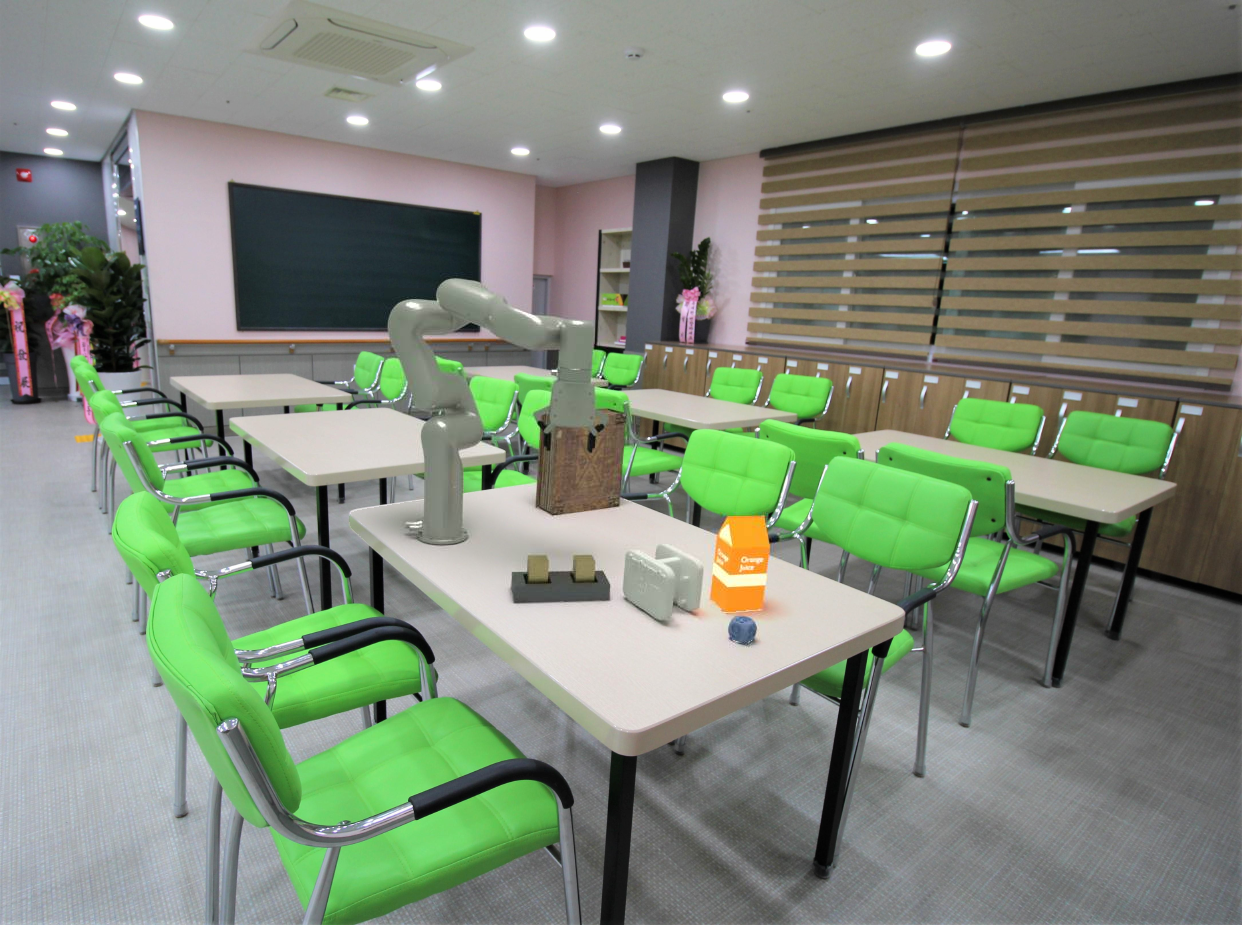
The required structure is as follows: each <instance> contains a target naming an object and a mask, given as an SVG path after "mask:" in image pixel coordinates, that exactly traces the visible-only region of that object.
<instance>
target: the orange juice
mask: <svg viewBox="0 0 1242 925" xmlns="http://www.w3.org/2000/svg"><path fill="white" fill-rule="evenodd" d="M766 524H767V523H766V519H765V515H743V516H742V515H741V516H735V515H734V516H731V515H729V516H727V517H726V518H725V520H724V522H723V524H722V526H721V527H720V530H719V532H718V533H717V535H716V541H715V542H716V543H715V551H714V559H713V567H712V576H711V577H712V578H711V586H710V595H709V596H710V597H709V599H710V598H711V599H710V600H711V601H712V600H713V601H714V602H715V603H716V604H717V605H718V606H719V607H720V608H721V609H722V610H723V611H724V612H736V611H746V610H758V609H762V610H763V606H764V605H763V603H764V597H765V596H764V595H765V590H766V586H767V584H766V583H767V577H768V565H769V560H770V558H769V557H770V553H771V552H770V549H771V546H770V541H769V535H768V531H767V525H766ZM713 601H712V602H713ZM714 602H713V603H714ZM715 603H714V604H715ZM716 604H715V605H716Z"/></svg>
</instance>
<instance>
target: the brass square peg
mask: <svg viewBox="0 0 1242 925" xmlns="http://www.w3.org/2000/svg"><path fill="white" fill-rule="evenodd" d="M572 558H573V559H572V570H571V571H572V581H573V583H594V575H595V571H596V560H595V558H594V557H593V554H573V556H572Z"/></svg>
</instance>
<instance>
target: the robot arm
mask: <svg viewBox="0 0 1242 925" xmlns="http://www.w3.org/2000/svg"><path fill="white" fill-rule="evenodd" d="M435 297H436V300H430V299H429V300H428V299H418V298H415V299H414V298H412V299H406V300H402V301H400V302H398V303H397V304H396V305H394V306H393V308H392V309H391V311H390V313H389V316H388V321H387V334H388V338H389V340H390V343H391V346H392V348H393V351H394V352H395V354H396V356H397V358H398V361H399V363H400V366H401V368H402V371H403V375H404V378H405V380H406V383H407V386H408V388H409V391H410V395H411V396H412V399H413V401H414V404H415V405H416V407H417V408H418V409H419V410H420V411H423V412H428V413H429V412H440V411H444V414H441V415H436V416H434V417H433V416H432V417H431V418H429V419H428V420H426V422H425V423H424V424H423V426H422V428H421V432H420V441H421V442H420V443H421V447H422V452H423V453H422V454H423V462H424V463H423V464H424V465H423V466H424V467H423V468H424V471H423V474H424V476H423V477H424V493H423V495H424V496H423V517H422V519H418V520H417V521H414V520H406V521H405V525H404V526H405V527H404V528H405V529H409V531H417V535H416V536H417V539H418V540H420V542H423V543H427V544H430V545H442V546H443V545H453V544H454V545H455V544H459V543H462V542H463V541H466V540H467V539H468V538H469V531H468V530H467V529H465V528H463V512H464V511H463V510H464V506H463V504H464V465H463V462H462V459H461V456H460V452H459V451H462V450H466V449H469V448H473V447H476V446H477V445H478V444H479V443H480V442H481V441H482V438H483V437H484V424H483V420H482V417H481V415H480V412H479V408H478V407H477V404H476V400H475V398H474V396H473V392H472V391H471V390H472V389H471V387H470V385H469V384H468V382H467V381H466V379H465V378H464V377H463V376H462V375H460V374H458V373H456V372H452V371H442V369H441V368H440V365H439V363H438V361H437V357H436V355H435V353H434V350H433V349H432V348H431V347H430V345H429V344H428V343H427V342H426V341H425V339H424V338H423V336H445V335H449V334H452V333H454V332H456V331H458V330H459V329H461V328H463V327H465V326H466V325H468V324H470V323H471V324H474V325H477V326H479V327H481V328H484V329H486V330H488V331H489V332H490V333H491V334H493V336H496V337H497V338H499V339H501V340H503V341H505V342H508V343H509V344H512V345H515V346H518V347H521V348H522V349H525V350H529V351H542V350H544V351H552V350H554V351H556V350H558V363H557V367H556V368H554V369H553V368H551V369H550V370H551V371H550V376H554V377H556V379H557V380H554V381H553V385H552V389H551V393H550V399H549V405H547V406H545V407H542V408H540V409H538V410H536V411H534V412H533V413H532V416H533V418H534V421H535V422H536V425H537V426H538V427H539V429H540V428H541V429H542V430H543V431H544V442H543V446H544V447H546V450H547V451H550V449H551V433H550V431H551V430H552V429H553V428H554V427H555V426H558V427H575V428H588V429H589V430H590V433H589V434H588V443H587V450H588V452H590V453H592V449H595V441H596V436H597V435H598V433H599V432H600V431H601V430H603V429H604V426H605V425H606V424H607V422H608V420H609V417H608V416H607V415H605V414H603V413H602V412H600V411H598V410H597V409H598V408H596V388H595V383H593V382H591V380H592V371H593V369H592V368H593V360H594V359H593V356H594V344H595V331H596V329H595V328H596V327H595V323H593V322H592V321H589V320H583V319H571V318H570V319H566V318H563V317H558V316H551V315H543V314H542V315H541V314H540V315H539V314H537V315H536V314H531V313H528V312H526V311H523V310H520V309H518V308H515V307H512V306H511V305H509V304H508V300H507V299H506V297H505V296H504V295H503V294H501V293H498V292H494V291H492V290H489V289H488V287H487V286H486V285H484V284H483V283H481V282H479V281H476V280H471V279H470V280H469V279H465V278H449V279H446V280H444V281H442V283H440V284H439V286H438V287H437V290H436V294H435ZM548 412H549V422H548V423H547V424H546V425H545V424H544V423H543V422H542V420H541V416H542V415H544V414H546V413H548ZM595 415H596V416H598V417H599V418H601V421H600V423H599V424H598V425H597V426H596V427H594V426H593V425H594V422H595Z"/></svg>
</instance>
